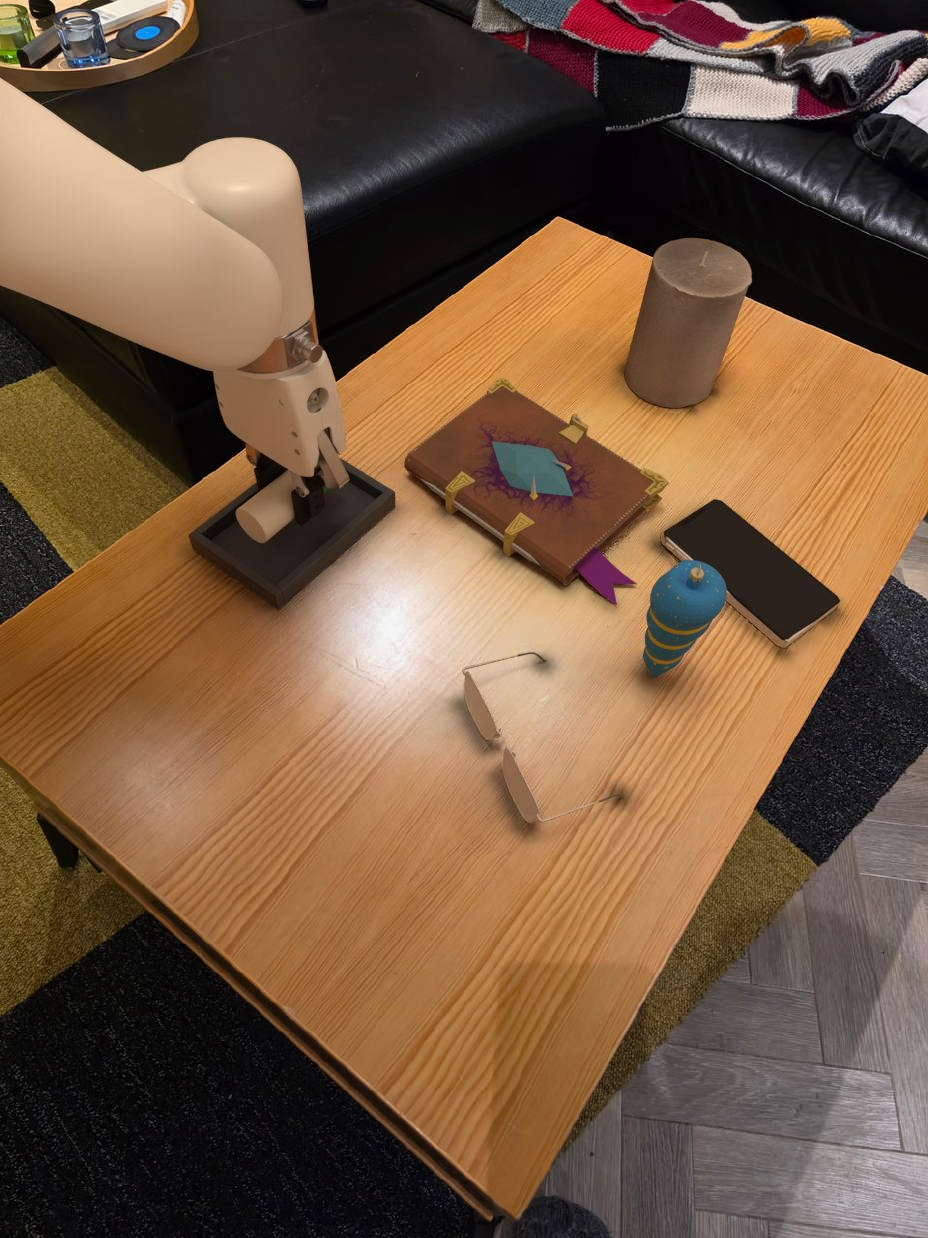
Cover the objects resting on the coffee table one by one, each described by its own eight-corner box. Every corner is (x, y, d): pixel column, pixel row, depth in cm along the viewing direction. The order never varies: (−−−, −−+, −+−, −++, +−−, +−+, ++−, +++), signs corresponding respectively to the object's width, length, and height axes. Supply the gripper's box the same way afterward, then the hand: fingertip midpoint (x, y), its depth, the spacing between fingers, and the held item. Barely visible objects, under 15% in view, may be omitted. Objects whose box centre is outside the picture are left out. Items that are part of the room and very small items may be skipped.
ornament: (686, 658, 74) (740, 544, 62) (681, 709, 71) (737, 601, 59) (626, 645, 75) (667, 529, 63) (619, 696, 72) (660, 585, 60)
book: (599, 627, 77) (607, 595, 73) (399, 481, 86) (396, 445, 82) (705, 521, 83) (718, 486, 79) (509, 396, 92) (512, 358, 88)
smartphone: (785, 644, 74) (659, 533, 81) (780, 652, 75) (656, 542, 82) (843, 599, 78) (718, 495, 84) (838, 606, 79) (714, 504, 85)
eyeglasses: (456, 688, 72) (462, 661, 68) (542, 661, 74) (552, 633, 71) (532, 840, 64) (542, 817, 61) (624, 804, 67) (639, 780, 64)
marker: (271, 548, 75) (257, 515, 72) (244, 536, 77) (229, 503, 74) (350, 482, 80) (338, 449, 77) (322, 473, 82) (311, 440, 79)
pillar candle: (635, 342, 99) (666, 215, 87) (720, 364, 97) (764, 238, 85) (614, 395, 93) (644, 268, 81) (704, 419, 92) (749, 293, 80)
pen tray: (278, 610, 75) (275, 596, 74) (192, 549, 79) (187, 534, 77) (395, 507, 83) (395, 491, 81) (313, 455, 86) (310, 439, 84)
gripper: (385, 352, 62) (391, 524, 77) (221, 261, 68) (256, 438, 83) (312, 407, 59) (333, 576, 74) (145, 306, 64) (196, 483, 79)
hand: (292, 502), depth 78 cm, fingers closed on marker, 3 cm apart
